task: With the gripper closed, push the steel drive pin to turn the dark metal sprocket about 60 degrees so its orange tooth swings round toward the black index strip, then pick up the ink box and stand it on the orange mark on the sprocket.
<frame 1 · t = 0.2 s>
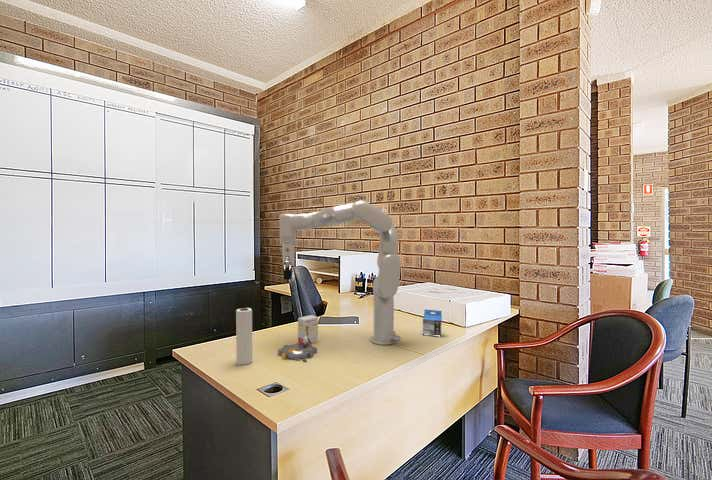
hand: (288, 277, 165), 31 cm above the table, tool pointing down, fingers open, 9 cm apart
ink box: (308, 342, 168), on the table
paper towel roll: (245, 362, 143), on the table
label tape cartridge: (431, 335, 179), on the table
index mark: (304, 361, 144), on the table
sprocket: (297, 346, 152), point 3 cm above the table, hinge at 0.0°
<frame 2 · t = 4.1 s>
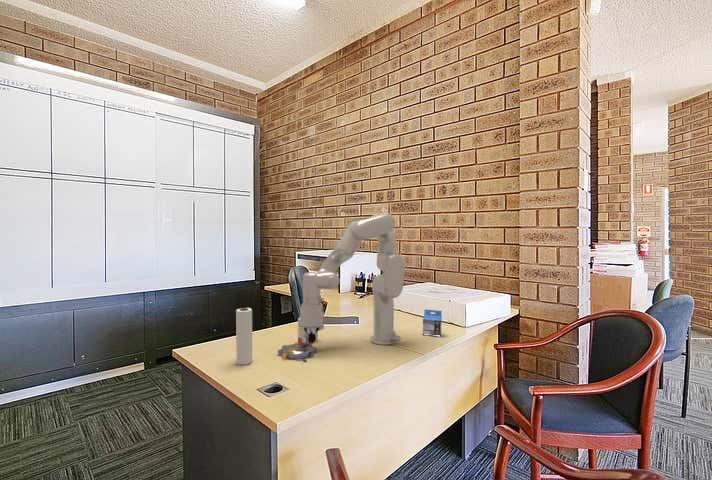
hand: (312, 342, 156), 4 cm above the table, tool pointing down, fingers closed
sprocket: (297, 346, 152), point 3 cm above the table, hinge at 2.9°, touching gripper
everything else where it was.
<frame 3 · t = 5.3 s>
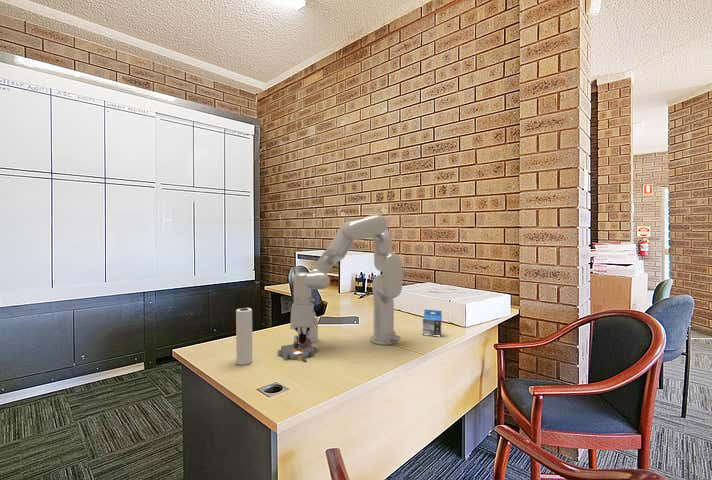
hand: (302, 342, 156), 3 cm above the table, tool pointing down, fingers closed
sprocket: (297, 346, 152), point 3 cm above the table, hinge at 52.1°, touching gripper
everything else where it was.
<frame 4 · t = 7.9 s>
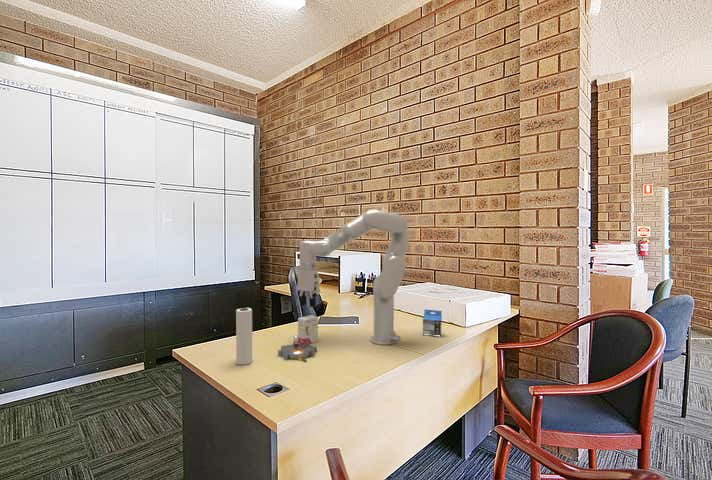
hand: (308, 305, 167), 17 cm above the table, tool pointing down, fingers open, 4 cm apart
sprocket: (297, 346, 152), point 3 cm above the table, hinge at 53.3°
everything else where it was.
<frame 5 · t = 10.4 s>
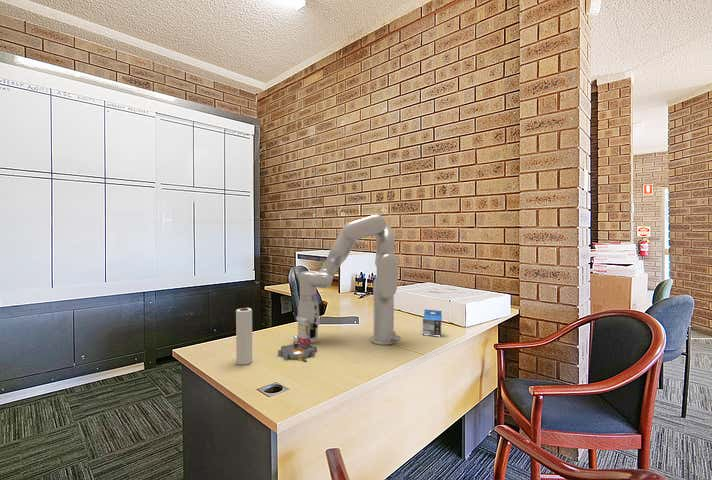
hand: (308, 335, 168), 3 cm above the table, tool pointing down, fingers closed on ink box, 5 cm apart
ink box: (308, 342, 168), on the table, touching gripper
everything else where it was.
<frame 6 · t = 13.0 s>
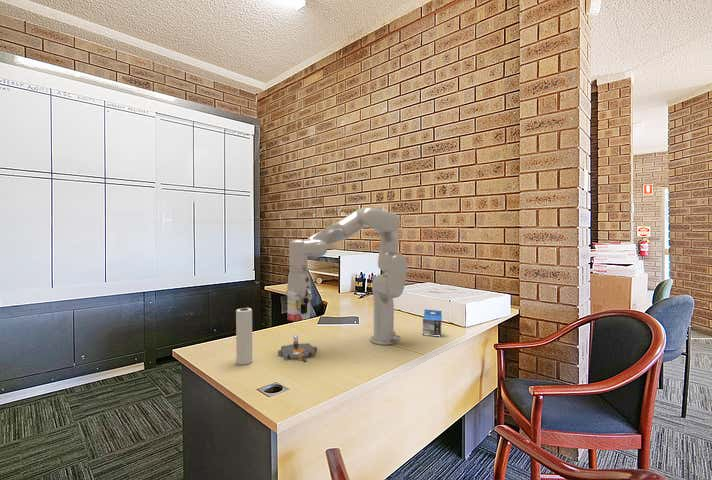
hand: (298, 311, 150), 18 cm above the table, tool pointing down, fingers closed on ink box, 5 cm apart
ink box: (298, 319, 150), point 15 cm above the table, touching gripper
everything else where it was.
when the fingers open (6 cm above the table, at t = 15.6 s): ink box drops 1 cm, resting on sprocket.
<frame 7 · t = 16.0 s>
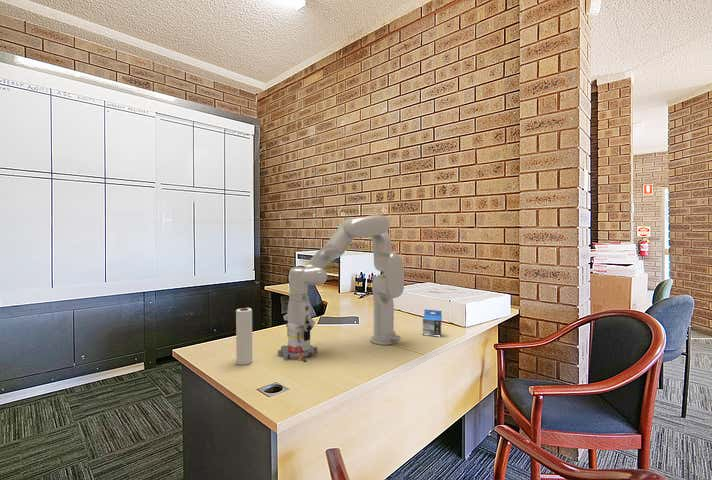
hand: (298, 338, 150), 7 cm above the table, tool pointing down, fingers open, 9 cm apart
ink box: (299, 350, 151), point 2 cm above the table, touching sprocket
sprocket: (297, 346, 152), point 3 cm above the table, hinge at 53.3°, touching ink box
everything else where it was.
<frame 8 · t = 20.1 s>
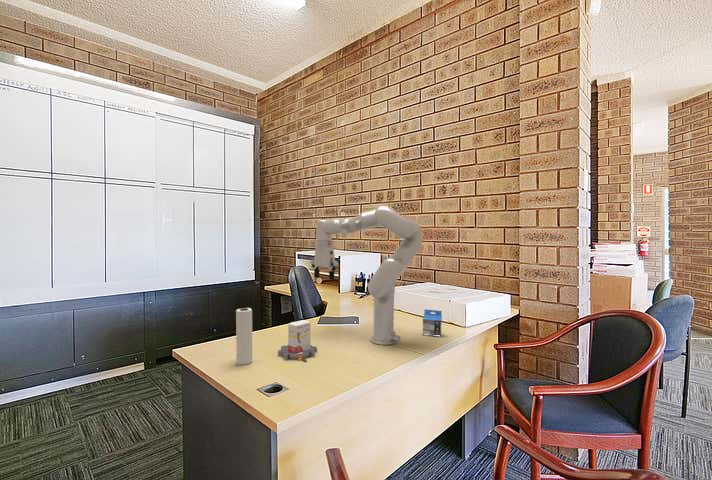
hand: (324, 278, 180), 28 cm above the table, tool pointing down, fingers open, 9 cm apart
nothing on the table moved.
at the end: sprocket at +53° (first picture: +0°); ink box inside the target area on the sprocket (0.2 cm from its centre), point 1.8 cm above the sprocket's base; ink box tilted 0° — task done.
